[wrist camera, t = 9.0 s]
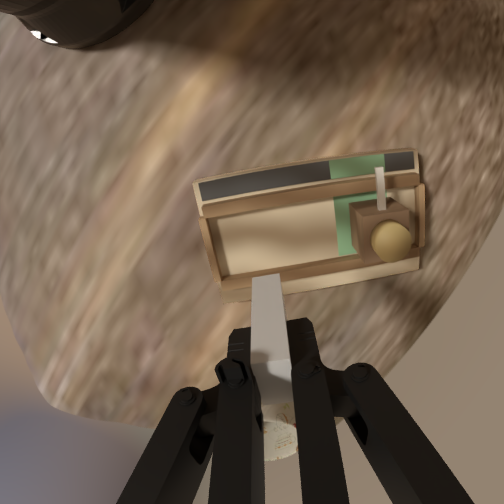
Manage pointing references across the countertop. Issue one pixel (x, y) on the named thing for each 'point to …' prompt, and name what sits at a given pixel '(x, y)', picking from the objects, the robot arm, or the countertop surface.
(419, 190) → the tuner board
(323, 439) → the robot arm
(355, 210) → the slider knob
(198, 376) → the countertop surface
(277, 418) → the mug
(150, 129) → the countertop surface
